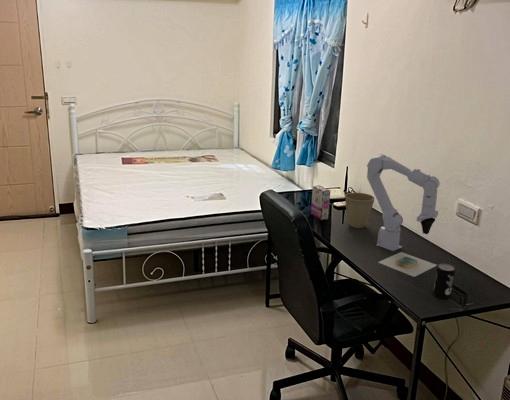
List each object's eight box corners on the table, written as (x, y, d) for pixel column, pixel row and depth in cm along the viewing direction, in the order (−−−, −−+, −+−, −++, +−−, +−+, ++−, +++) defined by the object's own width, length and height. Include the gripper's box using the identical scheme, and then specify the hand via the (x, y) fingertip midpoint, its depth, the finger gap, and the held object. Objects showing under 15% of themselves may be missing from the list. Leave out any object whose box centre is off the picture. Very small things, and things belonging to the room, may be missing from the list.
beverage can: (439, 300, 186) (444, 271, 183) (429, 292, 192) (433, 264, 189) (454, 298, 188) (459, 269, 184) (444, 290, 194) (448, 262, 190)
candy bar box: (328, 219, 270) (331, 190, 265) (321, 220, 268) (323, 191, 263) (318, 212, 279) (319, 184, 274) (310, 214, 277) (312, 185, 272)
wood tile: (405, 259, 220) (395, 264, 215) (405, 256, 220) (395, 260, 215) (417, 264, 216) (407, 269, 211) (418, 260, 215) (407, 265, 210)
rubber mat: (377, 263, 217) (377, 262, 217) (401, 252, 228) (401, 251, 228) (414, 277, 204) (414, 276, 204) (437, 266, 215) (437, 265, 215)
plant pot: (374, 231, 254) (377, 201, 249) (345, 230, 254) (347, 200, 250) (368, 221, 268) (371, 192, 264) (340, 220, 269) (343, 191, 264)
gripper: (428, 210, 212) (424, 239, 216) (445, 203, 221) (442, 232, 225) (413, 206, 217) (410, 235, 221) (431, 199, 227) (428, 227, 231)
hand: (425, 233), depth 224 cm, fingers closed
